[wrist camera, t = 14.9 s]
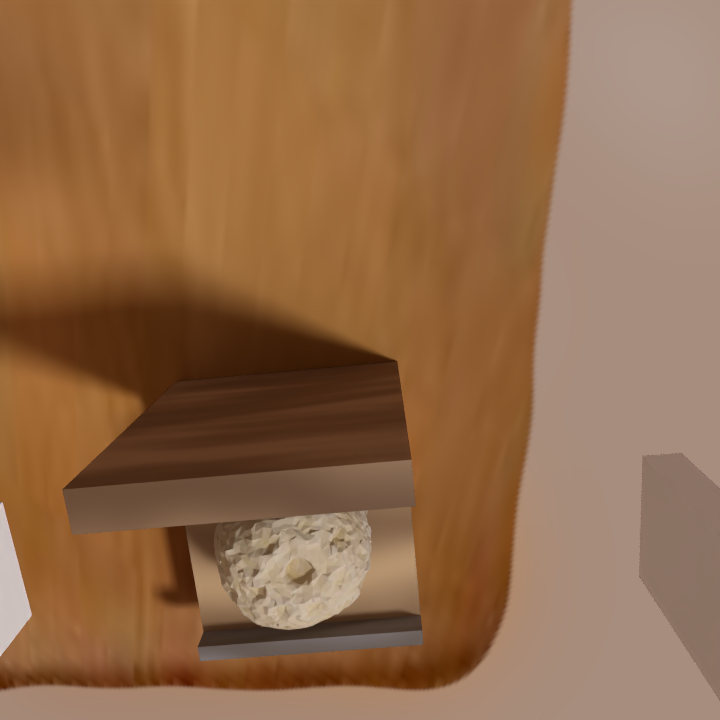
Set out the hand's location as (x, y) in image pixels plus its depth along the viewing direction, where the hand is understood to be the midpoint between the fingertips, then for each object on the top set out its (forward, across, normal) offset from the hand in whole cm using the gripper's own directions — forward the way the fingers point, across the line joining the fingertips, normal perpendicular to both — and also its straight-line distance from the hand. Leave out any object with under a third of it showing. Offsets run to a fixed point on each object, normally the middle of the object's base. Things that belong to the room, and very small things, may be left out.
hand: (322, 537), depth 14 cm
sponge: (+25, -5, -13) cm, 29 cm away
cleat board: (+28, -5, -13) cm, 31 cm away
